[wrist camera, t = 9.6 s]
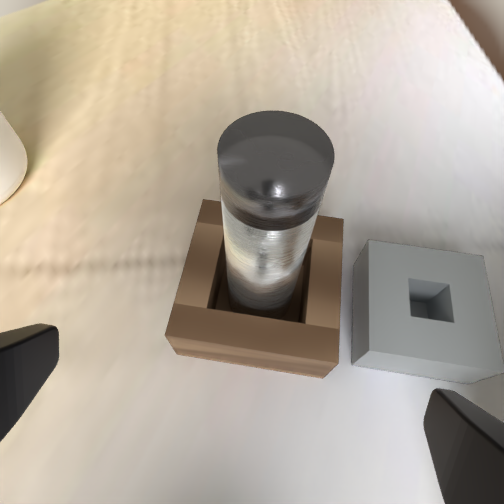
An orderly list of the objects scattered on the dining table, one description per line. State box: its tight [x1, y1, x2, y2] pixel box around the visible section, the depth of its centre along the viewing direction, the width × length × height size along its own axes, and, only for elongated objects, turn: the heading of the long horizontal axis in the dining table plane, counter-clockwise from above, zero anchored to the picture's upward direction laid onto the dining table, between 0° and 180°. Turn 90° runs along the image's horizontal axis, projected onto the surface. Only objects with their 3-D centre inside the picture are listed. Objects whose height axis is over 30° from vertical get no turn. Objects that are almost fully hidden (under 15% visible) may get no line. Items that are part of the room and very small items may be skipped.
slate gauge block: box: [352, 240, 504, 384], centre depth 22 cm, size 7×7×4 cm
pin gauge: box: [217, 111, 334, 320], centre depth 18 cm, size 4×4×13 cm
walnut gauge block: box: [165, 199, 343, 378], centre depth 22 cm, size 9×9×4 cm
